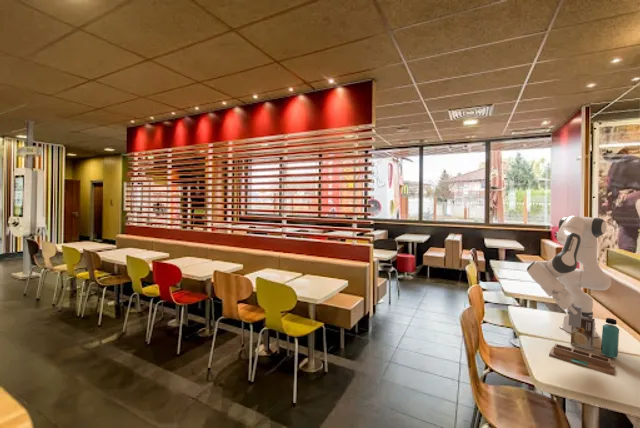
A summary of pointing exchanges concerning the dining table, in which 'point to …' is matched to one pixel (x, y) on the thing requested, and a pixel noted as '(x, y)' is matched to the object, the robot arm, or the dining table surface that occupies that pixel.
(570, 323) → the panel
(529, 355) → the dining table surface
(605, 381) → the dining table surface
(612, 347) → the beverage bottle
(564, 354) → the rack
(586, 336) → the coffee box
